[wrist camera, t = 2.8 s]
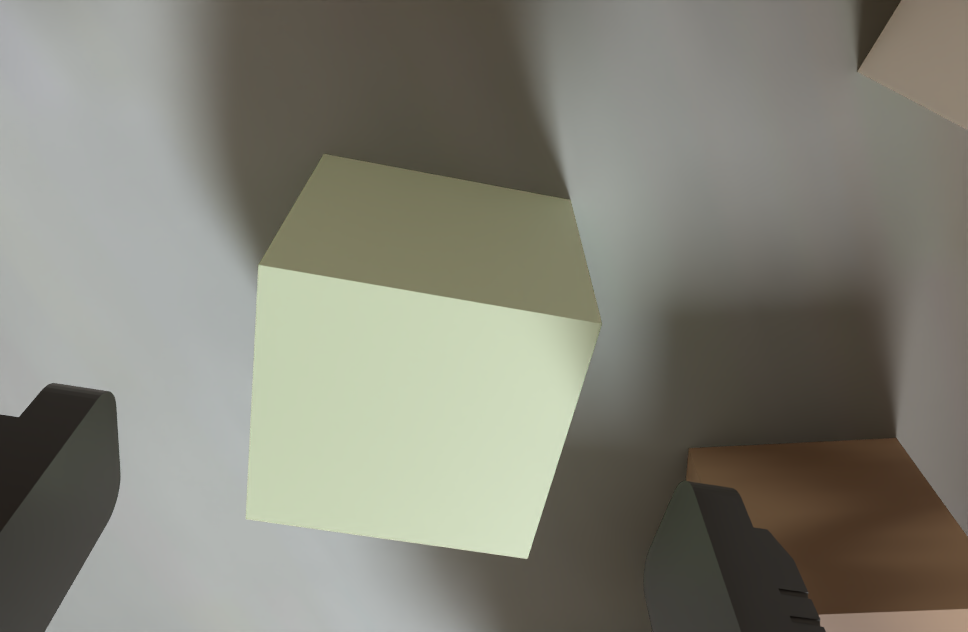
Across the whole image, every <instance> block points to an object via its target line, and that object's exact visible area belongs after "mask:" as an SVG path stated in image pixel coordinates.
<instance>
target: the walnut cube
mask: <svg viewBox="0 0 968 632" xmlns="http://www.w3.org/2000/svg"><path fill="white" fill-rule="evenodd" d="M686 481H690V482H697V483H703V484H710V485H716V486H723V487H729V488H734V489H735V490H737V491H738V493H739V494H740V496H741V498H742V500H743V503H744V505H745V508H746V510H747V513H748V515H749V518H750V520H751V523H752V525H753V527H754V528H761V529H768V531H769V532H770V533H771V534H772V535H773V536H774V538H775V539H776V540H777V541H778V542H779V543H780V544H781V546H782V547H783V548H784V549H785V550H786V551H787V552H788V554H789V555H790V556H791V557H792V558H793V559H794V561H795V564H796V566H797V568H798V570H799V572H800V575H801V577H802V579H803V581H804V584H805V586H806V588H807V590H808V599H812V602H813V604H814V606H815V608H816V611H817V613H818V615H819V617H820V626H821V627H824V629H825V631H826V632H968V537H967V535H966V534H965V533H964V531H963V530H962V528H961V527H960V526H959V524H958V523H957V522H956V520H955V519H954V517H953V516H952V515H951V513H950V512H949V510H948V509H947V508H946V506H945V505H944V504H943V502H942V501H941V499H940V498H939V497H938V495H937V494H936V492H935V491H934V490H933V488H932V487H931V485H930V484H929V483H928V481H927V480H926V479H925V477H924V476H923V474H922V473H921V472H920V470H919V469H918V467H917V466H916V465H915V463H914V462H913V461H912V459H911V458H910V456H909V455H908V454H907V452H906V451H905V449H904V448H903V447H902V445H901V444H900V443H899V441H898V440H897V438H886V439H865V440H845V441H825V442H804V443H784V444H763V445H743V446H722V447H702V448H689V451H688V462H687V474H686Z"/></svg>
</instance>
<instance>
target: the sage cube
mask: <svg viewBox="0 0 968 632" xmlns="http://www.w3.org/2000/svg"><path fill="white" fill-rule="evenodd" d="M601 326H602V322H601V318H600V314H599V310H598V306H597V302H596V298H595V294H594V290H593V286H592V282H591V279H590V275H589V271H588V267H587V263H586V259H585V255H584V251H583V247H582V243H581V239H580V235H579V231H578V227H577V223H576V219H575V215H574V212H573V208H572V204H571V200H568V199H563V198H558V197H552V196H547V195H542V194H536V193H531V192H526V191H520V190H515V189H510V188H504V187H499V186H494V185H488V184H483V183H477V182H472V181H467V180H461V179H456V178H451V177H445V176H440V175H435V174H429V173H424V172H419V171H413V170H408V169H403V168H397V167H392V166H387V165H381V164H376V163H370V162H365V161H360V160H354V159H349V158H344V157H338V156H333V155H328V154H323V156H322V158H321V159H320V161H319V163H318V164H317V166H316V168H315V170H314V171H313V173H312V175H311V176H310V178H309V180H308V181H307V183H306V185H305V187H304V188H303V190H302V192H301V193H300V195H299V197H298V198H297V200H296V202H295V204H294V205H293V207H292V209H291V210H290V212H289V214H288V215H287V217H286V219H285V221H284V222H283V224H282V226H281V227H280V229H279V231H278V232H277V234H276V236H275V238H274V239H273V241H272V243H271V244H270V246H269V248H268V249H267V251H266V253H265V255H264V256H263V258H262V260H261V261H260V263H259V265H258V284H257V304H256V324H255V344H254V364H253V383H252V403H251V423H250V443H249V463H248V483H247V503H246V519H248V520H255V521H262V522H269V523H276V524H283V525H290V526H297V527H304V528H312V529H319V530H326V531H333V532H340V533H347V534H354V535H361V536H368V537H375V538H382V539H389V540H397V541H404V542H411V543H418V544H425V545H432V546H439V547H446V548H453V549H460V550H467V551H474V552H482V553H489V554H496V555H503V556H510V557H517V558H524V559H528V556H529V552H530V549H531V546H532V543H533V540H534V537H535V533H536V530H537V527H538V524H539V521H540V518H541V515H542V511H543V508H544V505H545V502H546V499H547V496H548V493H549V489H550V486H551V483H552V480H553V477H554V474H555V470H556V467H557V464H558V461H559V458H560V455H561V452H562V448H563V445H564V442H565V439H566V436H567V433H568V430H569V426H570V423H571V420H572V417H573V414H574V411H575V407H576V404H577V401H578V398H579V395H580V392H581V389H582V385H583V382H584V379H585V376H586V373H587V370H588V367H589V363H590V360H591V357H592V354H593V351H594V348H595V344H596V341H597V338H598V335H599V332H600V329H601Z"/></svg>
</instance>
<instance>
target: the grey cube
mask: <svg viewBox="0 0 968 632" xmlns="http://www.w3.org/2000/svg"><path fill="white" fill-rule="evenodd" d="M857 72H859V73H861V74H863V75H865V76H866V77H868V78H870V79H872V80H874V81H876V82H878V83H880V84H882V85H883V86H885V87H887V88H889V89H891V90H893V91H895V92H897V93H899V94H900V95H902V96H904V97H906V98H908V99H910V100H912V101H914V102H916V103H917V104H919V105H921V106H923V107H925V108H927V109H929V110H931V111H933V112H934V113H936V114H938V115H940V116H942V117H944V118H946V119H948V120H950V121H951V122H953V123H955V124H957V125H959V126H961V127H963V128H965V129H967V130H968V0H901V2H900V3H899V5H898V7H897V8H896V10H895V11H894V13H893V15H892V16H891V18H890V20H889V21H888V23H887V24H886V26H885V28H884V29H883V31H882V32H881V34H880V36H879V37H878V39H877V41H876V42H875V44H874V45H873V47H872V49H871V50H870V52H869V54H868V55H867V57H866V58H865V60H864V62H863V63H862V65H861V66H860V68H859V70H858V71H857Z"/></svg>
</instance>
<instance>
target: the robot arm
mask: <svg viewBox="0 0 968 632" xmlns="http://www.w3.org/2000/svg"><path fill="white" fill-rule="evenodd" d="M119 486H120V459H119V443H118V427H117V411H116V401H115V397H114V395H113V394H112V393H111V392H109V391H103V390H96V389H90V388H83V387H76V386H70V385H63V384H57V383H51V384H49V385H47V386H46V387H45V388H44V389H43V390H42V391H41V392H40V393H39V394H38V395H37V397H36V398H35V399H34V400H33V401H32V402H31V404H30V405H29V406H28V407H27V408H26V410H25V411H24V412H23V413H22V414H21V415H20V417H13V416H6V415H0V632H45V630H46V628H47V627H48V625H49V623H50V621H51V620H52V618H53V616H54V615H55V613H56V611H57V609H58V608H59V606H60V604H61V602H62V601H63V599H64V597H65V596H66V594H67V592H68V590H69V589H70V587H71V585H72V583H73V582H74V580H75V578H76V576H77V575H78V573H79V571H80V570H81V568H82V566H83V564H84V563H85V561H86V559H87V557H88V556H89V554H90V552H91V551H92V549H93V547H94V545H95V544H96V542H97V540H98V538H99V537H100V535H101V533H102V531H103V530H104V528H105V526H106V525H107V523H108V521H109V519H110V517H111V515H112V512H113V510H114V507H115V504H116V500H117V497H118V492H119ZM644 592H645V598H646V603H647V607H648V612H649V617H650V621H651V626H652V630H653V632H826V631H825V629H824V627H821V626H820V617H819V615H818V613H817V611H816V608H815V606H814V604H813V602H812V599H808V590H807V588H806V586H805V584H804V581H803V579H802V577H801V575H800V572H799V570H798V568H797V566H796V564H795V561H794V559H793V558H792V557H791V556H790V555H789V554H788V552H787V551H786V550H785V549H784V548H783V547H782V546H781V544H780V543H779V542H778V541H777V540H776V539H775V538H774V536H773V535H772V534H771V533H770V532H769V531H768V529H761V528H754V527H753V525H752V523H751V520H750V518H749V515H748V513H747V510H746V508H745V505H744V503H743V500H742V498H741V496H740V494H739V493H738V491H737V490H735V489H734V488H729V487H723V486H716V485H710V484H703V483H697V482H690V481H682V482H681V483H680V484H679V485H678V486H677V488H676V489H675V491H674V494H673V496H672V498H671V501H670V503H669V505H668V507H667V510H666V512H665V514H664V517H663V519H662V521H661V524H660V526H659V528H658V531H657V533H656V535H655V537H654V540H653V542H652V544H651V547H650V549H649V552H648V554H647V558H646V563H645V569H644Z"/></svg>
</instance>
